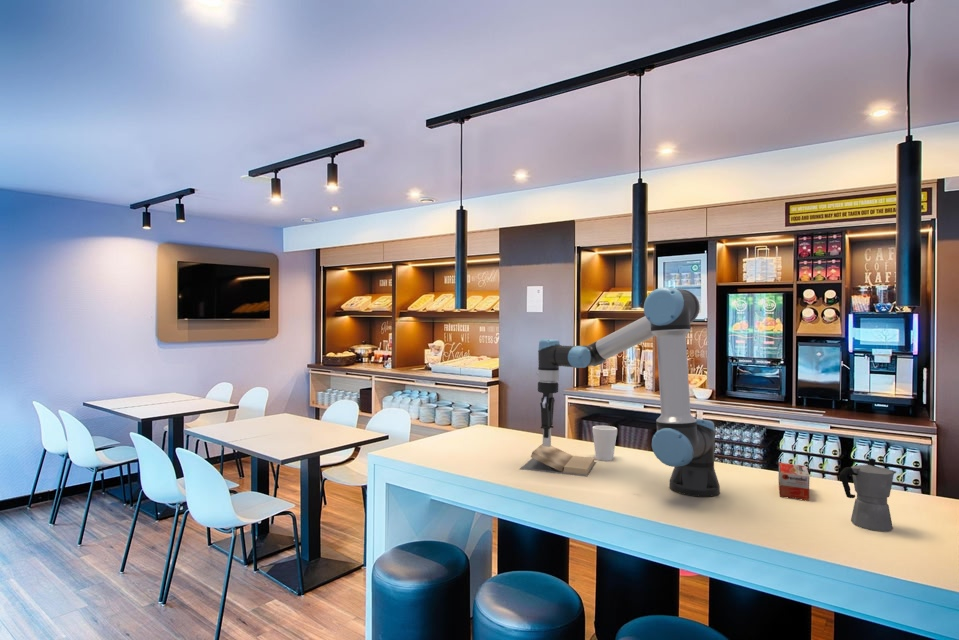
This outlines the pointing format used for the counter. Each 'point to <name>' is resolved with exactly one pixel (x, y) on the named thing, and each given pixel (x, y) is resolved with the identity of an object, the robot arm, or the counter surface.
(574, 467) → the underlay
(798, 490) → the medicine box
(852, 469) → the coffeepot
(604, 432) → the foam cup
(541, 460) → the plank
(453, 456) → the counter surface
